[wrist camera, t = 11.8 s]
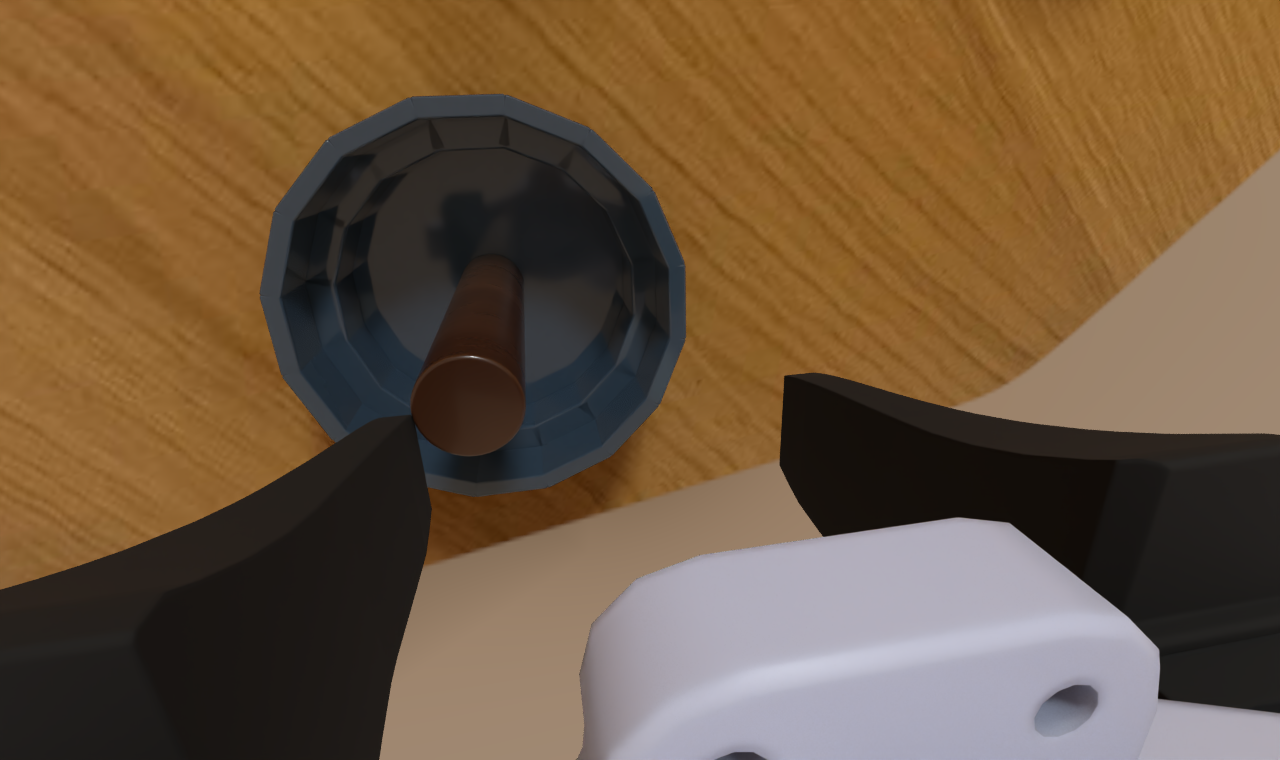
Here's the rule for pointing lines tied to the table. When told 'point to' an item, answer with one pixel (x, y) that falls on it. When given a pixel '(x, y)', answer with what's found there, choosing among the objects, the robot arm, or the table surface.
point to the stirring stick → (476, 363)
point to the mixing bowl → (436, 258)
